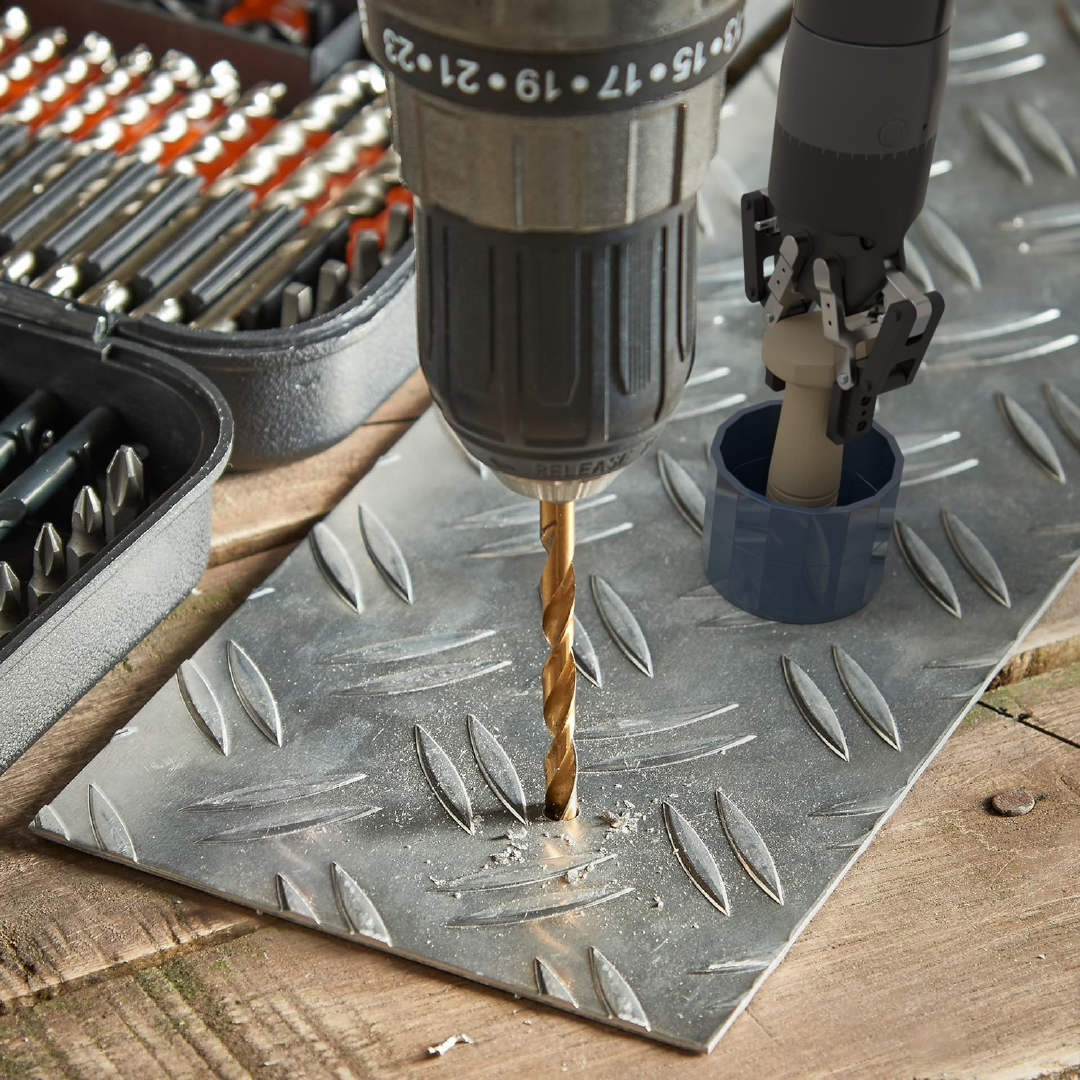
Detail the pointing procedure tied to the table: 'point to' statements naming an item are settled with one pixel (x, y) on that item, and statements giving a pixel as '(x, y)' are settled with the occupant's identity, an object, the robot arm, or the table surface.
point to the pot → (796, 525)
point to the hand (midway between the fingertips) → (814, 409)
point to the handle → (804, 412)
